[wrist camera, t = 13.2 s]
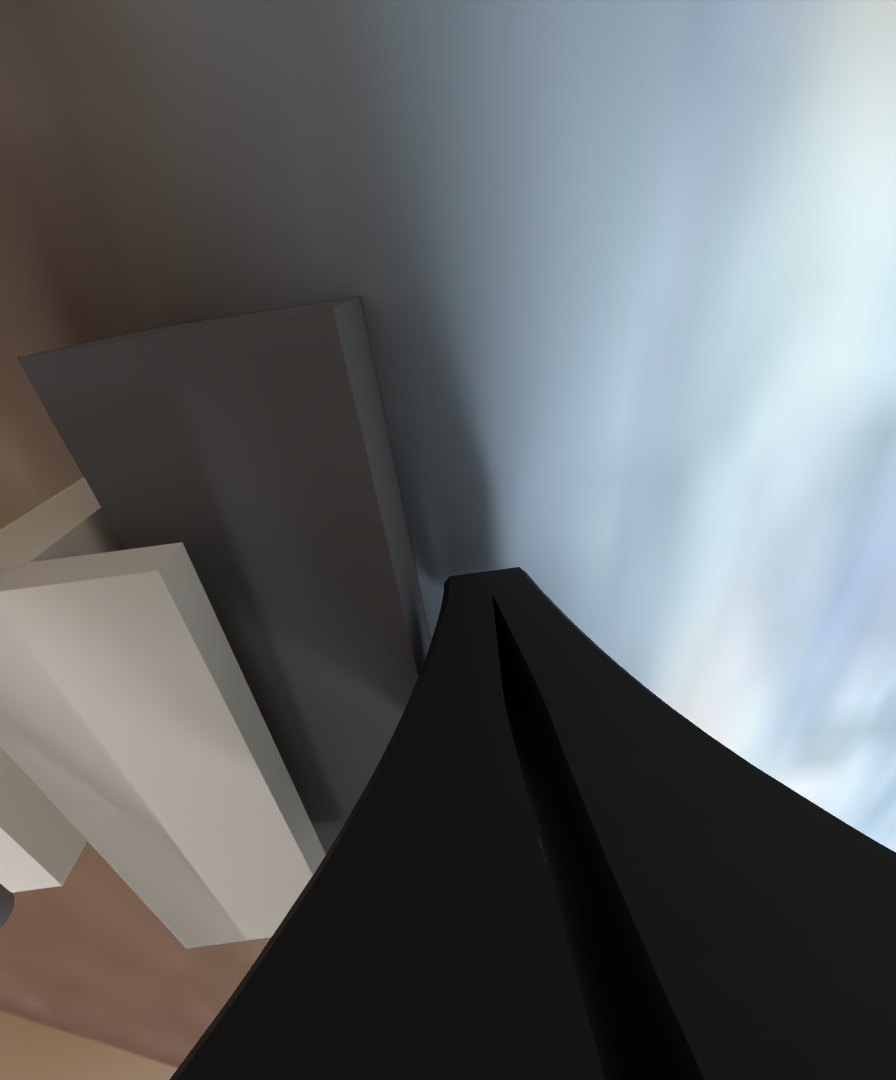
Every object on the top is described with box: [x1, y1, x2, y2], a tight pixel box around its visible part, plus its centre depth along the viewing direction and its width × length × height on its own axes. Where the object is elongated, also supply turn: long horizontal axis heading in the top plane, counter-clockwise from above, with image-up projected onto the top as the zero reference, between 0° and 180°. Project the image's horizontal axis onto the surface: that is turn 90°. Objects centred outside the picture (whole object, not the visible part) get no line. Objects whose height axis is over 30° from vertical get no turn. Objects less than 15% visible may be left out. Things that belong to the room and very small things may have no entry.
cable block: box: [17, 296, 431, 854], centre depth 8 cm, size 10×3×3 cm, turn 8°
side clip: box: [0, 477, 326, 949], centre depth 8 cm, size 7×4×4 cm, turn 6°
